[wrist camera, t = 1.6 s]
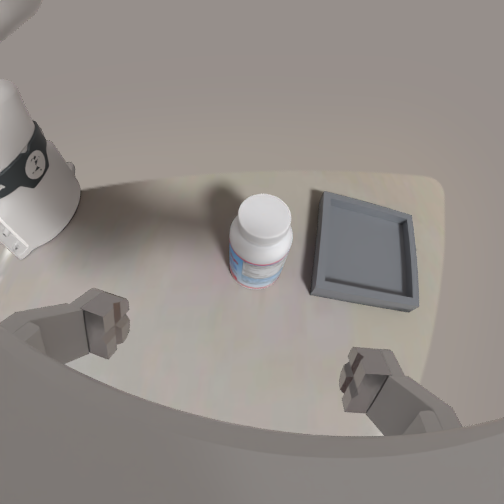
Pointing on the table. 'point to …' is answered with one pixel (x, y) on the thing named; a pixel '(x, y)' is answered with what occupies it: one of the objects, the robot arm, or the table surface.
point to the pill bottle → (259, 241)
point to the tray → (365, 254)
